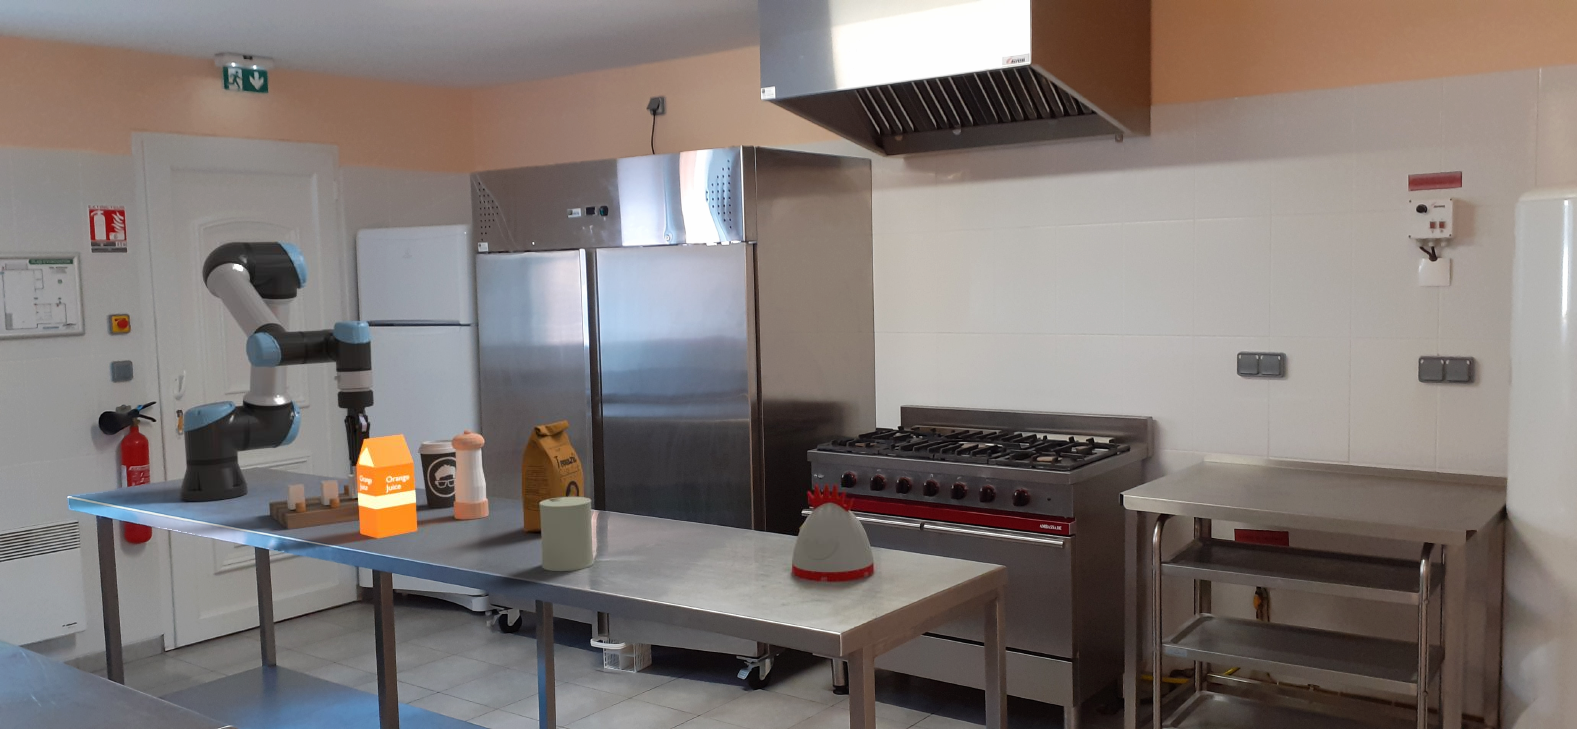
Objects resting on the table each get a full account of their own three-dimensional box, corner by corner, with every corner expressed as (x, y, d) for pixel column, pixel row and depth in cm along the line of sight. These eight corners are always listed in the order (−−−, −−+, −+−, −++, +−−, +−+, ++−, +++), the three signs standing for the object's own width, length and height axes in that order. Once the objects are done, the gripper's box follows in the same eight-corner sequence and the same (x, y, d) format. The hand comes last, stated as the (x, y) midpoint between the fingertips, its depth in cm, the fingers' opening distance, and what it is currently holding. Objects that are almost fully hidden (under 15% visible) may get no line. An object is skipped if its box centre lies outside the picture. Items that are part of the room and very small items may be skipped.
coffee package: (593, 524, 237) (589, 420, 235) (555, 536, 226) (550, 427, 224) (556, 520, 241) (551, 418, 240) (516, 532, 230) (511, 425, 229)
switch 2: (321, 503, 251) (320, 481, 251) (335, 501, 253) (334, 479, 252) (324, 505, 248) (323, 482, 248) (338, 503, 250) (337, 481, 250)
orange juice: (359, 533, 234) (354, 438, 233) (399, 525, 240) (394, 433, 239) (378, 538, 229) (372, 440, 227) (418, 530, 235) (413, 435, 234)
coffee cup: (469, 501, 266) (466, 438, 265) (454, 509, 257) (450, 444, 256) (431, 502, 267) (427, 439, 266) (413, 510, 258) (410, 445, 257)
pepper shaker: (447, 518, 247) (443, 431, 245) (468, 512, 253) (464, 427, 252) (474, 520, 244) (470, 432, 243) (495, 513, 251) (491, 428, 249)
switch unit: (270, 515, 256) (268, 493, 256) (360, 503, 268) (359, 482, 268) (288, 529, 240) (287, 506, 240) (384, 516, 252) (383, 494, 251)
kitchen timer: (810, 559, 201) (808, 475, 200) (884, 564, 196) (882, 478, 195) (780, 578, 188) (777, 489, 187) (857, 584, 183) (855, 493, 182)
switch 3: (349, 496, 258) (347, 475, 258) (362, 494, 260) (361, 473, 260) (352, 498, 256) (351, 476, 256) (366, 496, 258) (364, 475, 257)
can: (571, 556, 208) (568, 492, 207) (604, 562, 202) (602, 496, 202) (531, 566, 201) (528, 500, 200) (564, 574, 195) (561, 505, 194)
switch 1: (287, 507, 247) (286, 485, 246) (302, 505, 248) (301, 483, 248) (290, 509, 244) (289, 486, 244) (305, 507, 246) (304, 485, 246)
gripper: (330, 389, 257) (336, 491, 258) (345, 392, 246) (351, 499, 248) (364, 386, 261) (370, 487, 263) (380, 390, 250) (386, 495, 252)
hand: (361, 493), depth 255 cm, fingers closed
